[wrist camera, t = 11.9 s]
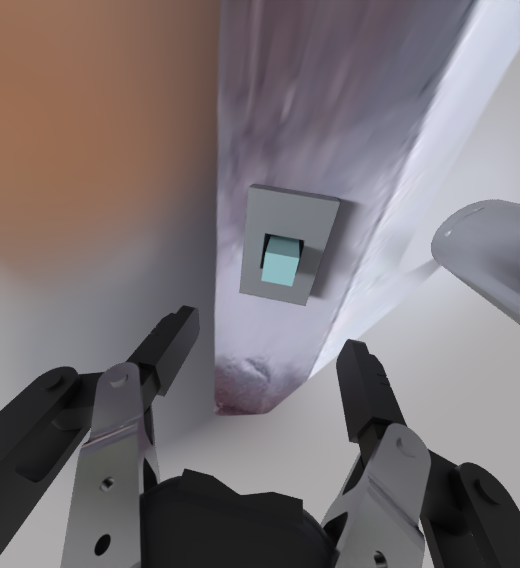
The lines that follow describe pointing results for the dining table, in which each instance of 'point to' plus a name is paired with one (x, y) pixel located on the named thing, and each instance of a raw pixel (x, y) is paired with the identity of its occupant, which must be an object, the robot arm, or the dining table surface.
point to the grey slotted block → (289, 223)
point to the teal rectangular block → (281, 260)
